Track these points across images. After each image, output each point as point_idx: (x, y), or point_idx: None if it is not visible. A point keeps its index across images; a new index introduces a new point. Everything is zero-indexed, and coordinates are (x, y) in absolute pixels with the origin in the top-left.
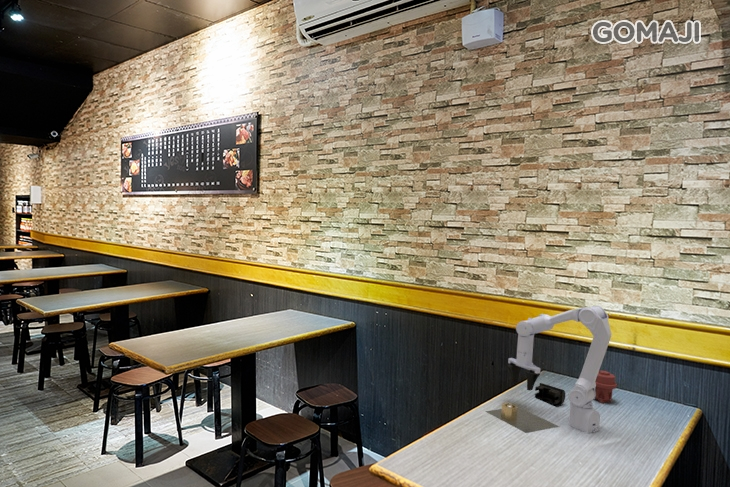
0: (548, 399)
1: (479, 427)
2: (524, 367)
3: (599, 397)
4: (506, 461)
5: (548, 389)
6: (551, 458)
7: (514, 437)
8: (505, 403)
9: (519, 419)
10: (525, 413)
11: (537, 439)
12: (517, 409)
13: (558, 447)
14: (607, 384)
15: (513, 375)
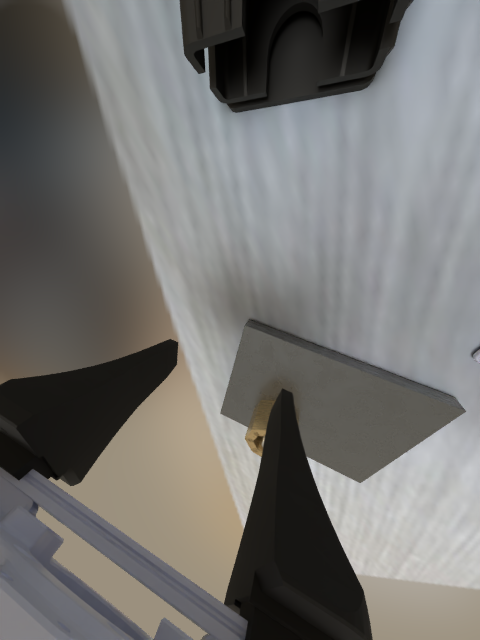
0: (297, 8)
1: (256, 457)
2: (138, 574)
3: None
4: (361, 543)
5: None
6: (452, 535)
7: (334, 475)
8: (249, 435)
9: (307, 419)
10: (299, 368)
11: (390, 470)
12: (262, 352)
13: (466, 494)
14: None
15: (136, 403)
